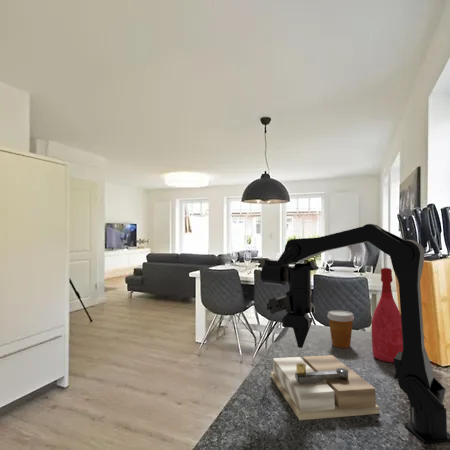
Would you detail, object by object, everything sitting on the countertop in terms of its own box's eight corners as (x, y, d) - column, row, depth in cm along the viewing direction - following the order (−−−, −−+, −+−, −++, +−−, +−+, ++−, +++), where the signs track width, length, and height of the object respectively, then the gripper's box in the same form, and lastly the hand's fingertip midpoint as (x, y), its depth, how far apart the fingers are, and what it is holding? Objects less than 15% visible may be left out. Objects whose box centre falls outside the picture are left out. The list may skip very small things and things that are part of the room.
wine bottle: (386, 365, 104) (384, 269, 106) (365, 355, 114) (363, 267, 115) (412, 362, 107) (409, 268, 108) (389, 352, 116) (387, 266, 118)
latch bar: (344, 374, 84) (344, 360, 84) (350, 379, 81) (350, 364, 81) (294, 377, 82) (294, 363, 82) (298, 382, 79) (298, 367, 79)
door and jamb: (379, 413, 76) (378, 382, 76) (299, 420, 74) (299, 388, 74) (333, 373, 99) (332, 349, 99) (271, 377, 96) (270, 352, 97)
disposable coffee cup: (322, 343, 126) (321, 311, 127) (341, 340, 130) (340, 309, 131) (340, 351, 118) (340, 317, 118) (360, 347, 122) (359, 314, 122)
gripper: (275, 281, 98) (276, 334, 98) (260, 290, 81) (261, 355, 80) (314, 282, 94) (315, 338, 94) (307, 293, 77) (308, 361, 76)
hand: (300, 347), depth 86 cm, fingers closed
